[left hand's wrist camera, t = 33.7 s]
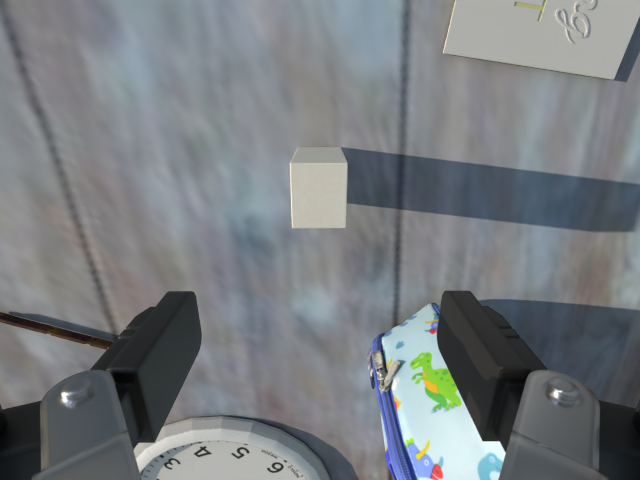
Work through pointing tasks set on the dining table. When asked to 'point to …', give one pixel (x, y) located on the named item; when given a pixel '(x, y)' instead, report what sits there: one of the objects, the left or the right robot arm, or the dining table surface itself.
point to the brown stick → (54, 331)
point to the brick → (319, 187)
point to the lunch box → (426, 408)
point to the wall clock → (226, 452)
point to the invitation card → (545, 33)
